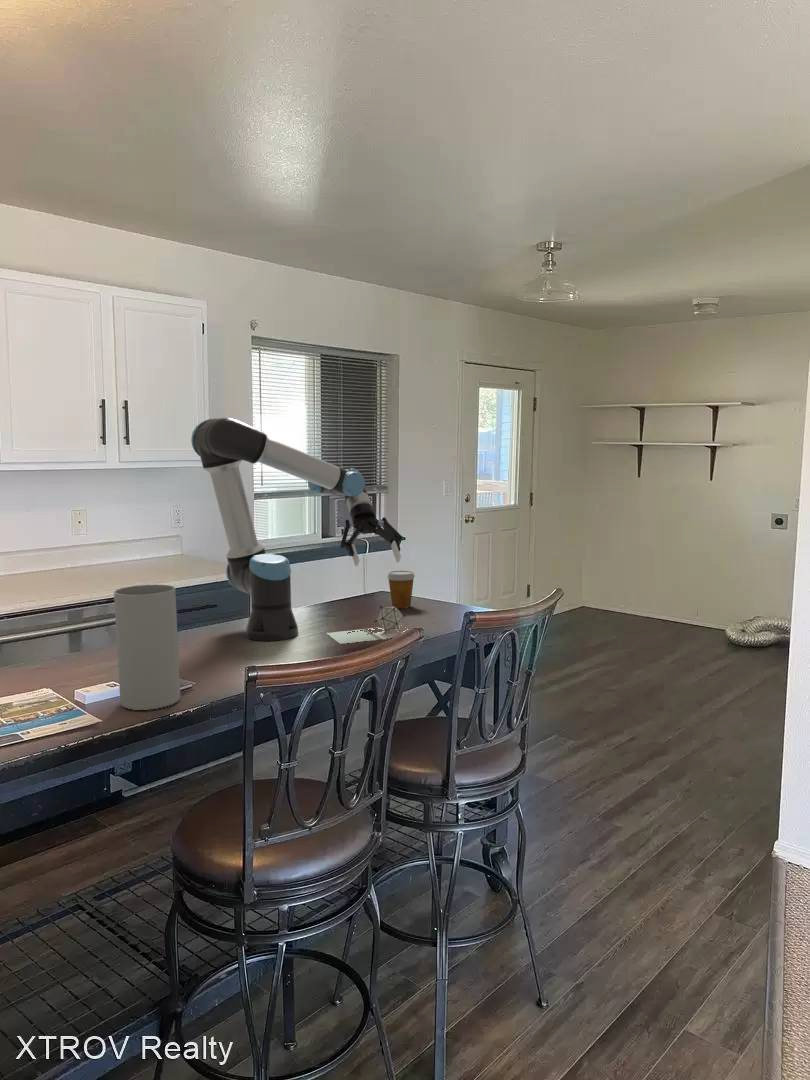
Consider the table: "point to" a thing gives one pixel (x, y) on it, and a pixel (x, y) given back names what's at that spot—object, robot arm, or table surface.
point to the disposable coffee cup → (401, 588)
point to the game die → (390, 618)
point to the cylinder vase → (147, 646)
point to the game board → (360, 636)
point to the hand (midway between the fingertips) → (378, 561)
